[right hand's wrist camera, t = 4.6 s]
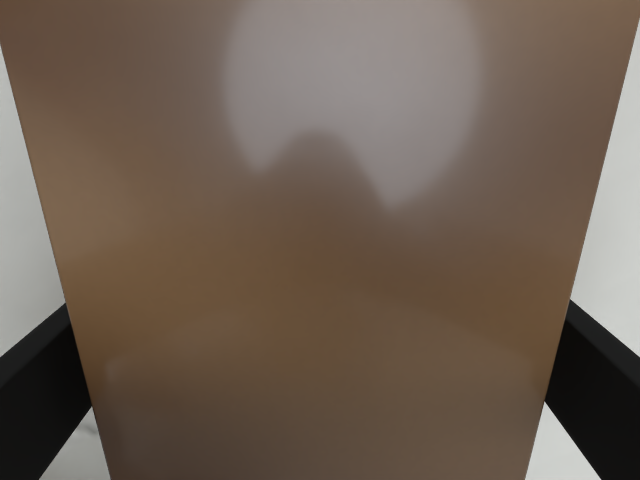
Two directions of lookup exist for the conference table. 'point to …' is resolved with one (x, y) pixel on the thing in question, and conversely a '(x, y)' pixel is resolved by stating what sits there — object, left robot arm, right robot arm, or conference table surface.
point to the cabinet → (317, 222)
